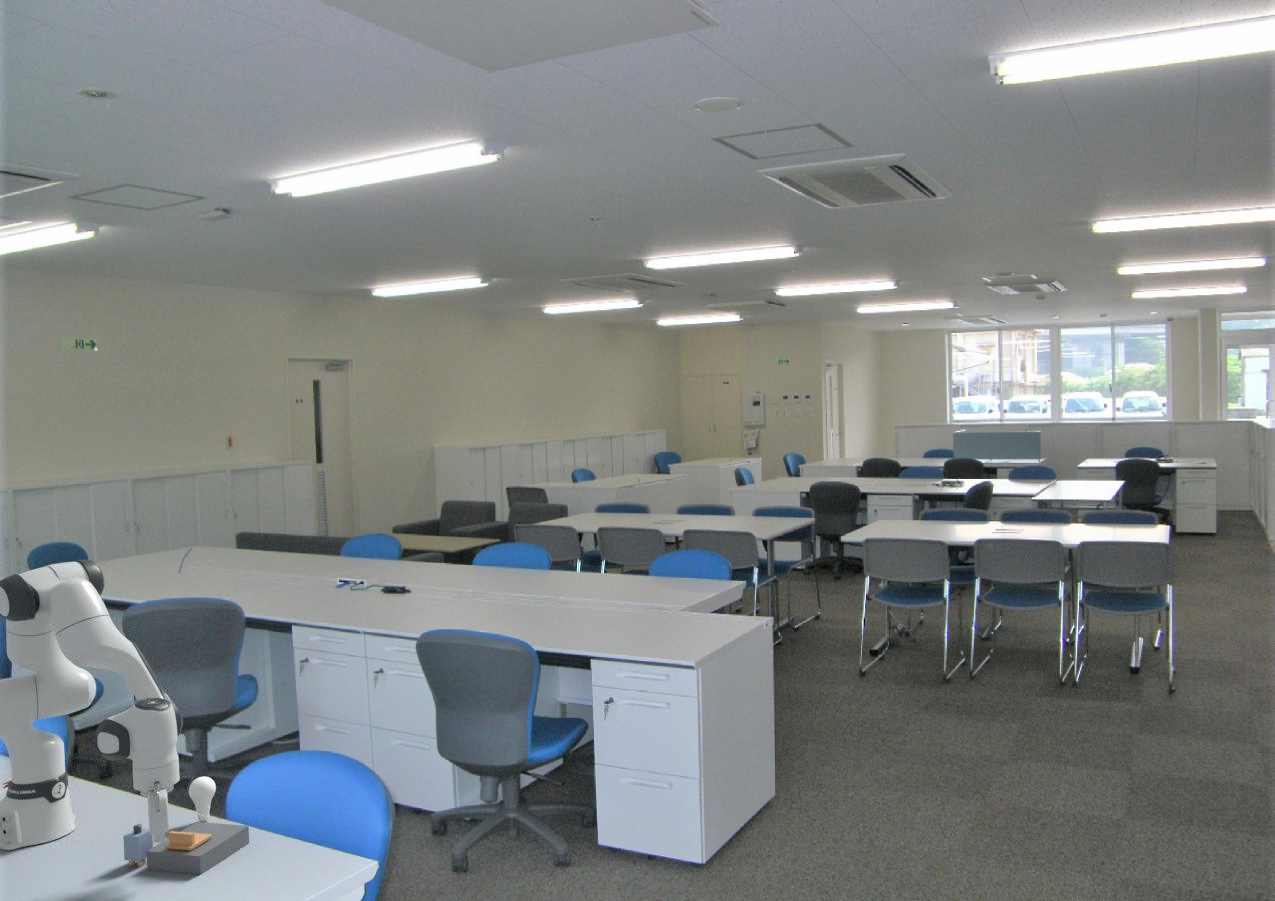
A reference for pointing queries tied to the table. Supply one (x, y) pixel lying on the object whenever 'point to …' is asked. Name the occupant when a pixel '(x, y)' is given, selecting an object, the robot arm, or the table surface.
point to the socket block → (199, 849)
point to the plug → (137, 845)
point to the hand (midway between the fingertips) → (159, 840)
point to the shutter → (186, 840)
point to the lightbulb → (202, 795)
